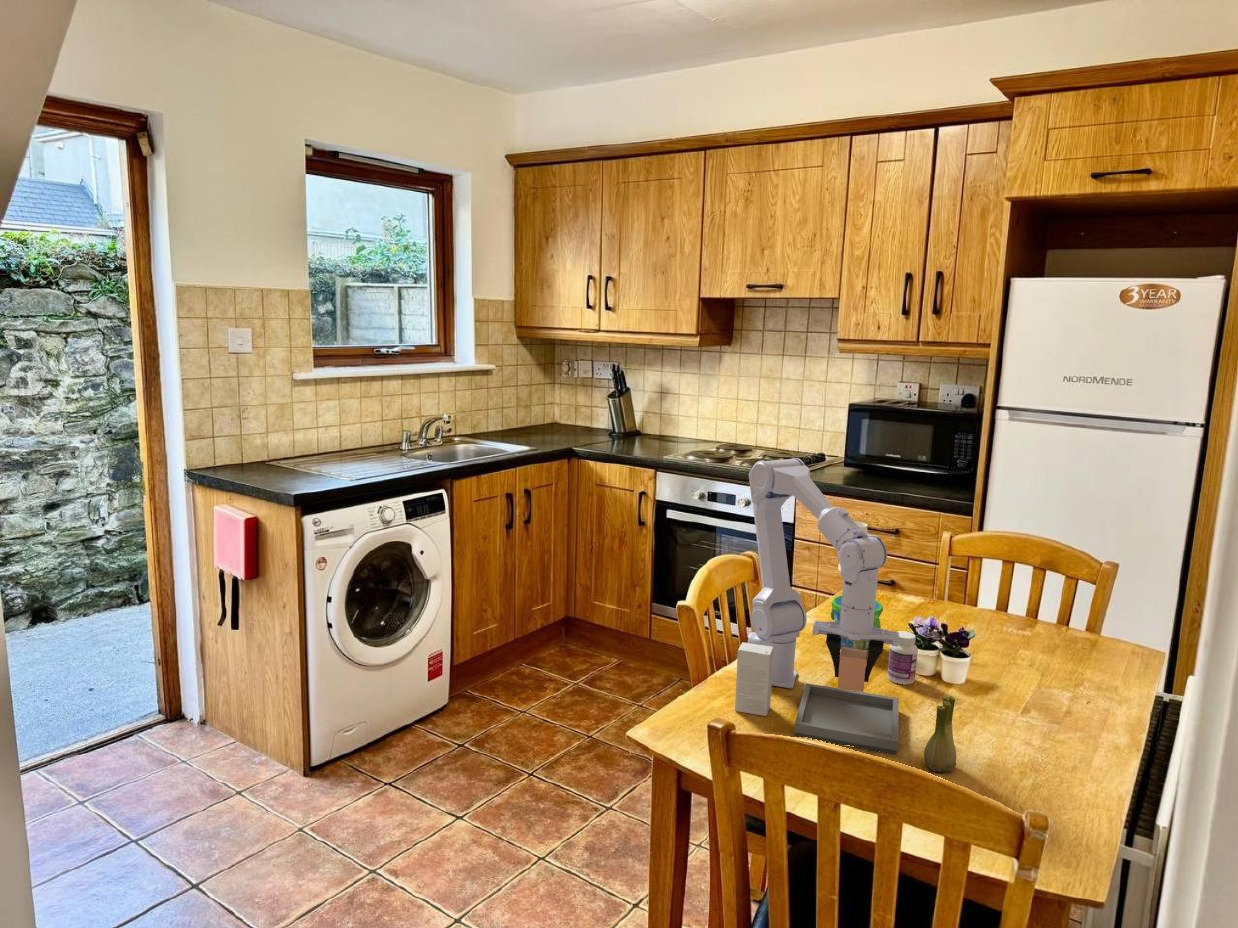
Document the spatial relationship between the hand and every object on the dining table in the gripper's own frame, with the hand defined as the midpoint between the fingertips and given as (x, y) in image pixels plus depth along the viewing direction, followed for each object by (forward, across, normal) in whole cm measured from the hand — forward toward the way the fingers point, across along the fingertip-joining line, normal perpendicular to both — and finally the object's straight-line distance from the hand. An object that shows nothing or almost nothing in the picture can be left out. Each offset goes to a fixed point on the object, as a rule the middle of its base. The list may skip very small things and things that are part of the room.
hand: (851, 677), depth 152 cm
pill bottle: (+9, +9, +23) cm, 26 cm away
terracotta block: (+2, 0, 0) cm, 2 cm away
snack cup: (+9, -1, +37) cm, 38 cm away
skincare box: (+9, -17, -1) cm, 19 cm away
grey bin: (+9, 0, 0) cm, 9 cm away
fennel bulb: (+9, +15, -10) cm, 20 cm away
